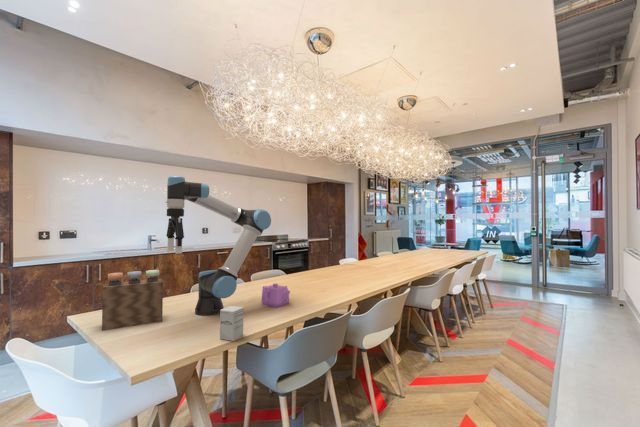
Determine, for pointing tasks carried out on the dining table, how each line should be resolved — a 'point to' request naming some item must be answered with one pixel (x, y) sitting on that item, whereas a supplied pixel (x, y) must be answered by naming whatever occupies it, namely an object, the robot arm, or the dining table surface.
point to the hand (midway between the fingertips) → (174, 252)
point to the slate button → (134, 275)
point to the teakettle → (275, 295)
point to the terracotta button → (115, 276)
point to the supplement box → (231, 323)
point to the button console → (132, 303)
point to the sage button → (152, 273)
